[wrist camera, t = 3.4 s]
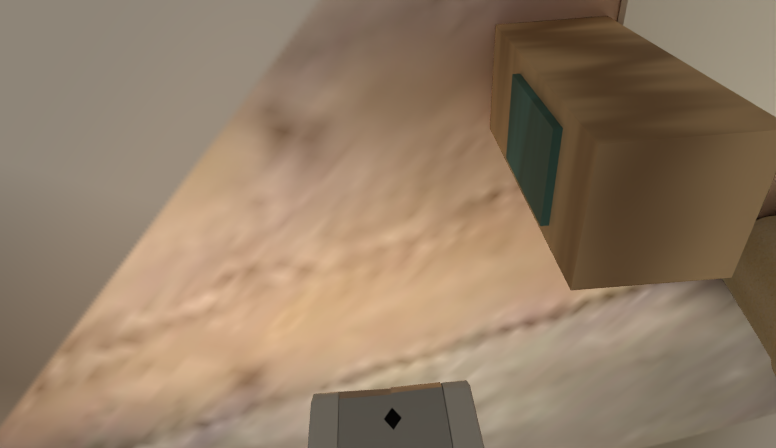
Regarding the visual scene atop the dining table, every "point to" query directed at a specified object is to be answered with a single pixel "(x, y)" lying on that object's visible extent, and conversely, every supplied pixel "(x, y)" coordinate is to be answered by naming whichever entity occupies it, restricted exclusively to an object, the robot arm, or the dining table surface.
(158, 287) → the dining table surface
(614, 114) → the oak block
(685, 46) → the white board
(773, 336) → the flower pot
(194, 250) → the dining table surface
